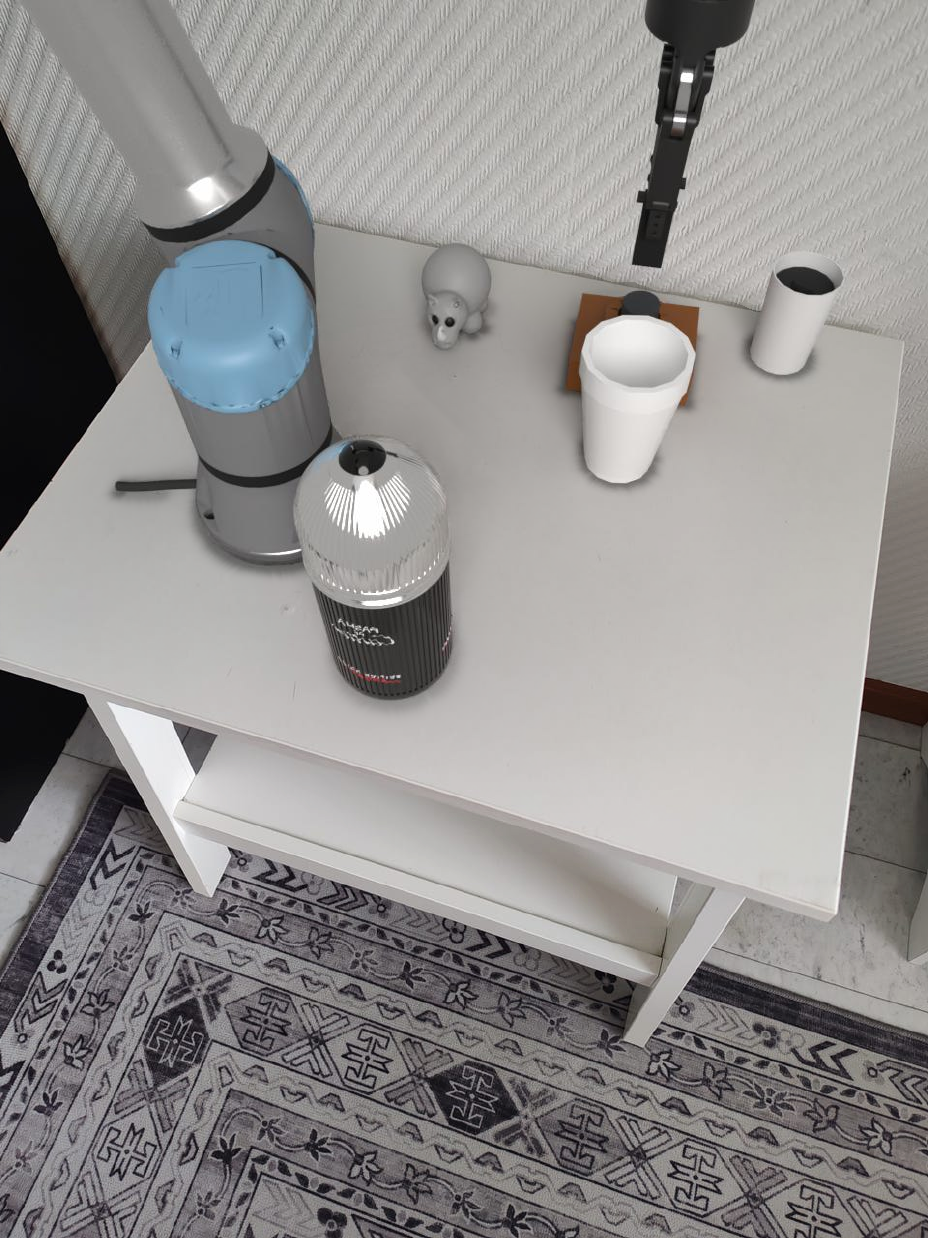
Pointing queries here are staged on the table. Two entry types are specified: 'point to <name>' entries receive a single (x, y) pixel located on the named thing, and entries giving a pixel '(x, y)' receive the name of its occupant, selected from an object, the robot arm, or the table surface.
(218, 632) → the table surface
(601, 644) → the table surface
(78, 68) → the robot arm
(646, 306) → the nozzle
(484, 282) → the round bodied animal figurine
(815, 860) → the table surface
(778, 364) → the white cylindrical cup
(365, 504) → the spray bottle
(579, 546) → the table surface
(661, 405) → the foam cup
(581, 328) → the brown block
